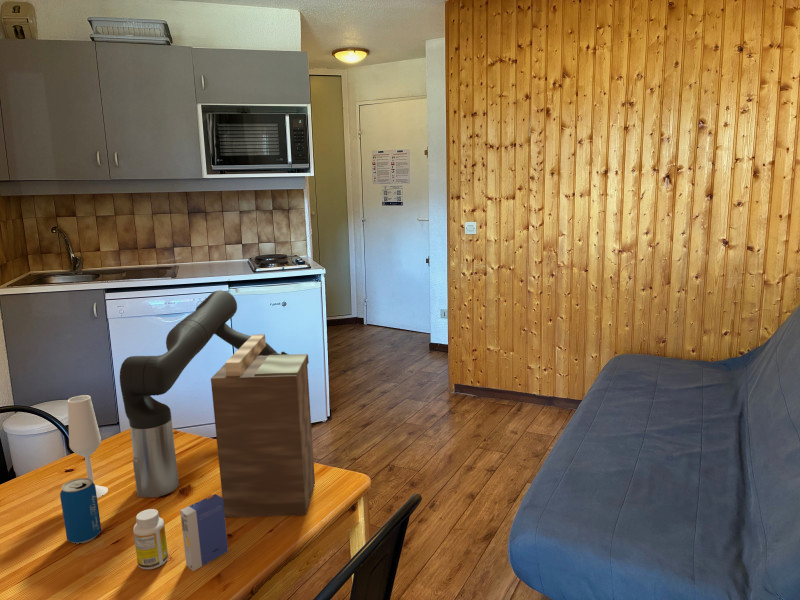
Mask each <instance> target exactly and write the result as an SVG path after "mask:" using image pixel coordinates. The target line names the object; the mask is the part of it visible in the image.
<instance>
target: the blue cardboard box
mask: <svg viewBox="0 0 800 600" xmlns="http://www.w3.org/2000/svg"><path fill="white" fill-rule="evenodd" d="M179 511H180V519H181V528H182V529H181V531H182V536H183V545H184V546H183V547H184V554H185V555H184V556H185V564H186V566H187V567H188V569H189V570H190V571H192V572H195V570H198V569H199V568H201V567H204V566H205V565H206V564H208V563H210V562H212V561H213V560H215V559H217V558H219V557H221V556H223V555H225V554H227V553H228V552H229V546H228V537H227V526H226V518H225V514H224V503H223V498H222V496H220V495H218V494H216V493H214V494H209V495H207V496H206V497H205V498H204V499H201V500H199V501H196V502H195V503H193V504H190V505H188V506H186V507H184V508H181V509H180V510H179Z"/></svg>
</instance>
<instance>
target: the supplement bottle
mask: <svg viewBox="0 0 800 600" xmlns="http://www.w3.org/2000/svg"><path fill="white" fill-rule="evenodd" d="M135 519H136V523H135V524H134V526H133V528H132V532H133V539H134V546H135V553H136V554H135V555H136V561H137V562H136V563H137V566H138V567H139V568H140V569H142V570H153V569H154V570H155V569H157V568H159V567H161V566H163V565H164V564H165V563H166V562H167V560H168V559H169V551H168V543H167V534H166V527H165V521H164V519H163V518H162V517H160V514H159V511H158V510H157V509H156V508H147V509H145V510H142V511H140V512H139V513H137V515H136V517H135Z"/></svg>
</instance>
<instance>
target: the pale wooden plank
mask: <svg viewBox="0 0 800 600" xmlns="http://www.w3.org/2000/svg"><path fill="white" fill-rule="evenodd" d="M250 336H251V337H250V338H249V339H248V340H247V341H246V342H245V343H244V344H243V345H242V346H241V347H240V348H239V349H236V351H235V352H234V353H233V354H232V355H231V356H230V358H228V359H227V360H226V361H225V363H224V364H225V367H226V377H228V376H241V375H242V374H243V373H244V371H245V370H246V369H247V368H248V367H249V365H250V364H251V363H252V362H253V361H254V359H255V358H256V357H257V356H258V355H259V353H260V352H261V351H262V350H263V349H264V347H265V346H266V343H267V342H266V335H265V334H262V333H261V334H251V335H250Z"/></svg>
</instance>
